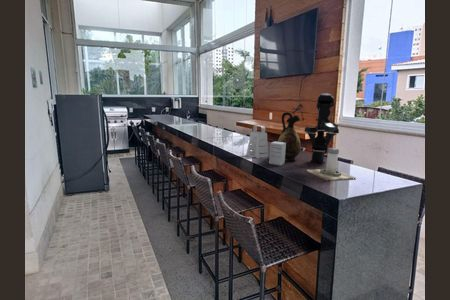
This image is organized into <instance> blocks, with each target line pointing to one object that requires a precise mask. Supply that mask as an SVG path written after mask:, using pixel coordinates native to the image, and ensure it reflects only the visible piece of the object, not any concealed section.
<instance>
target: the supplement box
mask: <svg viewBox="0 0 450 300" xmlns="http://www.w3.org/2000/svg"><path fill="white" fill-rule="evenodd" d="M269 146H270V147H269V158H268V164H270V165H275V166H282V165H284V164H285V161H286V160H285V150H286V143H284V142H277V141H276V140H275V141H272V142H270V145H269Z"/></svg>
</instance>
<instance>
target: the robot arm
mask: <svg viewBox="0 0 450 300" xmlns="http://www.w3.org/2000/svg"><path fill="white" fill-rule="evenodd" d="M334 104H335V98H334V96H333V95H332V94H330V93H325V92H324V93H320V94H319V95H318V98H317V99H316V109H317V110H316V111H317V118H316V119H315V121H317V123H316V126H314V127H313V126H305V128H304V132H306V134H307V135H308V137H309V139H310V140H309V141H310V143H311V145H312V147H311V153H312V154H311V159H309V161H310V162H313V163H314V164H323V163H324V164H325V163H326V161H324V159H325V154H328V148H329V144H330V142H331V140H332V138H334V136H336V135H337V134H340V133H339V132H340V130H339V128H338V127H339V123H337V122H334V123H331V119H330V115H331V110H330V109H331V108H333V107H334V106H335V105H334Z"/></svg>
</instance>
